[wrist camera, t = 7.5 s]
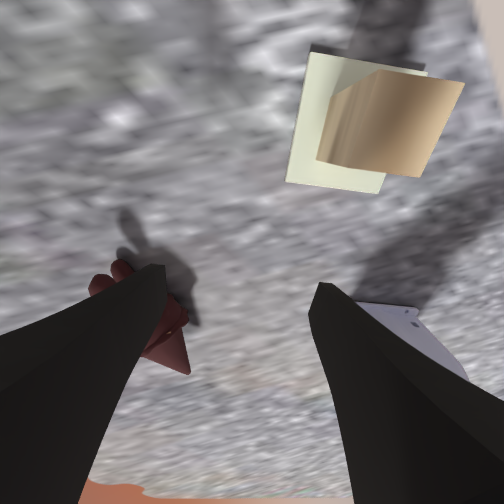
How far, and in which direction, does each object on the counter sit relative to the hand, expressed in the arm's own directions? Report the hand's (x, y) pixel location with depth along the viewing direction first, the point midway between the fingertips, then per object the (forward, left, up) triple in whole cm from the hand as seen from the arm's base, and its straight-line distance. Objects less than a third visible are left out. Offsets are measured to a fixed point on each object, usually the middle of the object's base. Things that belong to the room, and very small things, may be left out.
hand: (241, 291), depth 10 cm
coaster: (-7, -8, -10) cm, 15 cm away
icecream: (+8, +11, -11) cm, 18 cm away
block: (-7, -8, -10) cm, 14 cm away
